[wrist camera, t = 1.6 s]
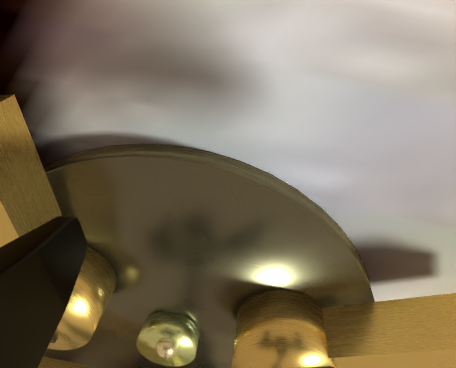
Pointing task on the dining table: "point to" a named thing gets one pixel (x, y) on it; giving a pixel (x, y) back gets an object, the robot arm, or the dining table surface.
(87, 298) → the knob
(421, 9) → the dining table surface
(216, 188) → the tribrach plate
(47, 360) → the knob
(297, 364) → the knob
